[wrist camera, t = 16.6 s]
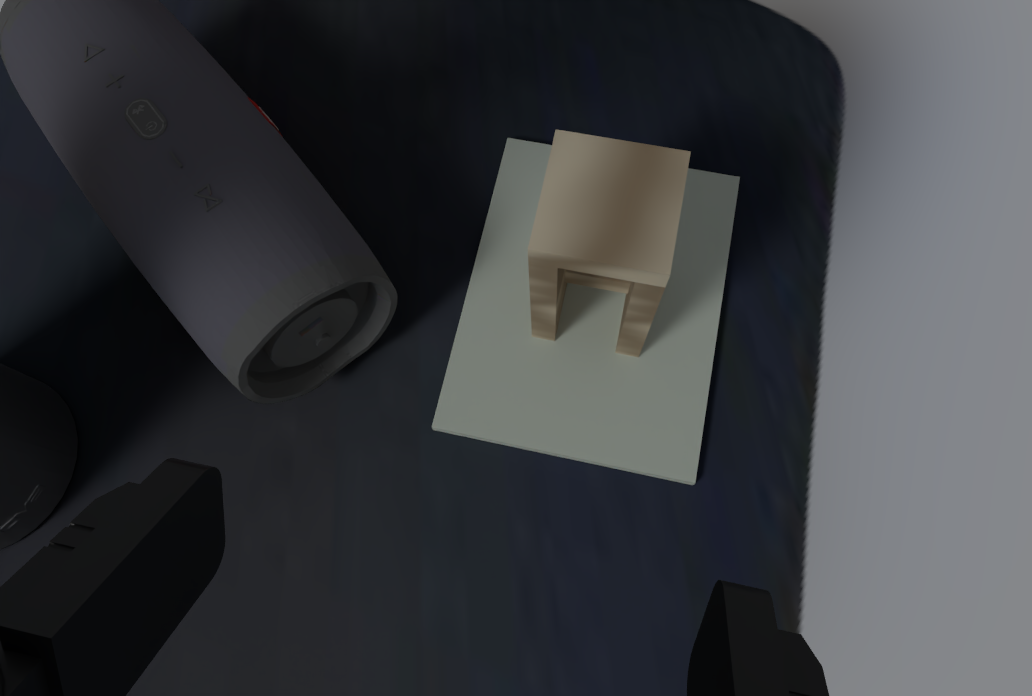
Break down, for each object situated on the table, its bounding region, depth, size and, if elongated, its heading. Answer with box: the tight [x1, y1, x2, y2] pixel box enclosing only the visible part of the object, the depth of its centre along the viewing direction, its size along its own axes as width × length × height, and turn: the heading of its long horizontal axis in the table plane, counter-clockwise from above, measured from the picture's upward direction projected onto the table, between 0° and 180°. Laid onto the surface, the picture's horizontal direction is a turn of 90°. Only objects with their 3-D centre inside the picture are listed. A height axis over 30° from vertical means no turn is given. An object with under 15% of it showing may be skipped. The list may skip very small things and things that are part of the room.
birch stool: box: [528, 130, 691, 357], centre depth 34 cm, size 6×6×10 cm
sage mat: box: [432, 138, 740, 485], centre depth 39 cm, size 13×17×1 cm
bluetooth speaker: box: [0, 0, 397, 404], centre depth 37 cm, size 23×9×10 cm, turn 39°
